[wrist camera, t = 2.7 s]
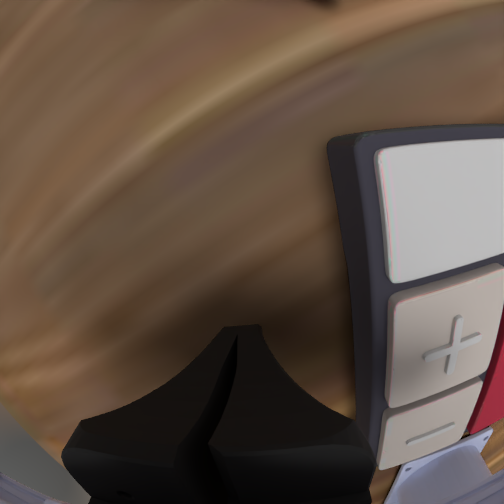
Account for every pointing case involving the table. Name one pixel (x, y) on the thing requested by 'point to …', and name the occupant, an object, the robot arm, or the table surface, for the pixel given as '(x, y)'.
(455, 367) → the calculator
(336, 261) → the table surface
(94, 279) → the table surface
